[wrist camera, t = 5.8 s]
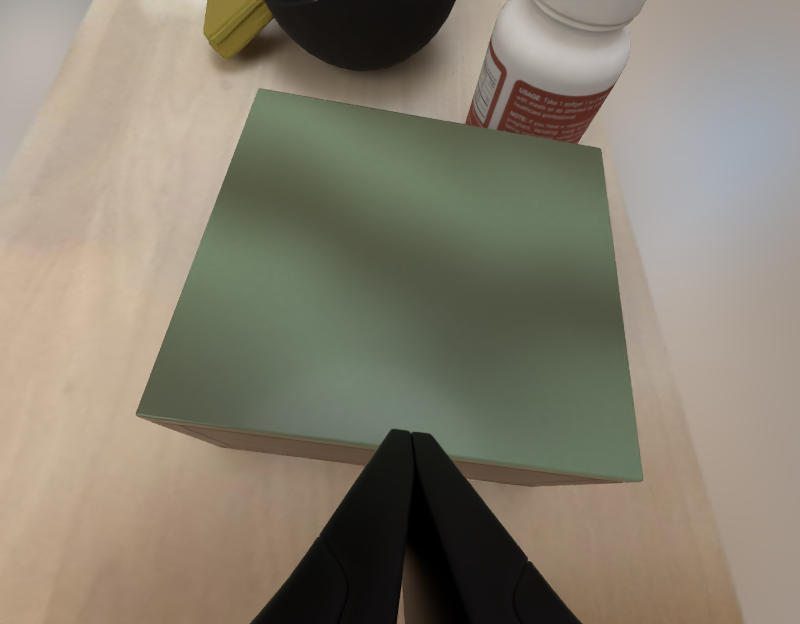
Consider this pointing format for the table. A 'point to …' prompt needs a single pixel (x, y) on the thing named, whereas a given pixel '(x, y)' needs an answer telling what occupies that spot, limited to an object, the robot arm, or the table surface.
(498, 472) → the chest
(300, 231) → the lid
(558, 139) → the pill bottle
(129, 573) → the table surface
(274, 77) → the table surface
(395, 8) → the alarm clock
